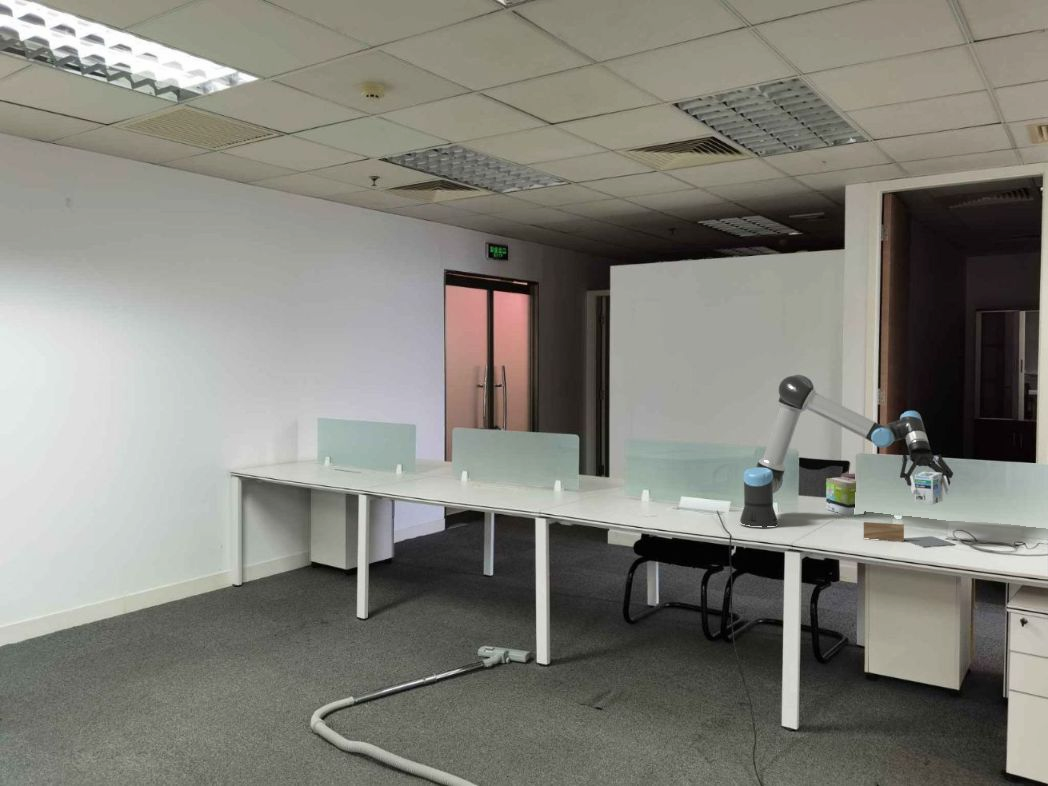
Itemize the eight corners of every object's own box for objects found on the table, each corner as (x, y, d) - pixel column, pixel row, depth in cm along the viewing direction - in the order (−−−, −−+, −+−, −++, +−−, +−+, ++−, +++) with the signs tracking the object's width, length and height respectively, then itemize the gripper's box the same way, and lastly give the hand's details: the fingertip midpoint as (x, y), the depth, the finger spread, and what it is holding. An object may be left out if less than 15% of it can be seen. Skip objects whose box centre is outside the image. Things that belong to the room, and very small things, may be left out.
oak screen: (903, 542, 302) (903, 525, 302) (863, 539, 308) (863, 522, 308) (903, 541, 303) (903, 524, 303) (863, 538, 309) (863, 521, 309)
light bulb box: (933, 505, 294) (933, 476, 293) (914, 503, 299) (914, 474, 298) (943, 500, 301) (943, 472, 301) (924, 498, 306) (924, 470, 306)
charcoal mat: (923, 547, 294) (923, 546, 294) (901, 539, 306) (901, 538, 306) (955, 545, 296) (955, 544, 296) (931, 537, 309) (931, 536, 308)
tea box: (825, 510, 364) (825, 477, 363) (843, 508, 367) (843, 476, 366) (847, 516, 350) (847, 482, 349) (866, 514, 353) (866, 481, 352)
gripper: (948, 451, 312) (962, 498, 298) (884, 451, 316) (895, 497, 302) (953, 439, 307) (967, 486, 292) (887, 439, 311) (899, 486, 297)
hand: (931, 492), depth 297 cm, fingers closed on light bulb box, 11 cm apart
